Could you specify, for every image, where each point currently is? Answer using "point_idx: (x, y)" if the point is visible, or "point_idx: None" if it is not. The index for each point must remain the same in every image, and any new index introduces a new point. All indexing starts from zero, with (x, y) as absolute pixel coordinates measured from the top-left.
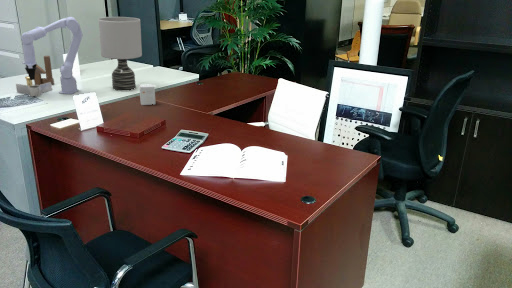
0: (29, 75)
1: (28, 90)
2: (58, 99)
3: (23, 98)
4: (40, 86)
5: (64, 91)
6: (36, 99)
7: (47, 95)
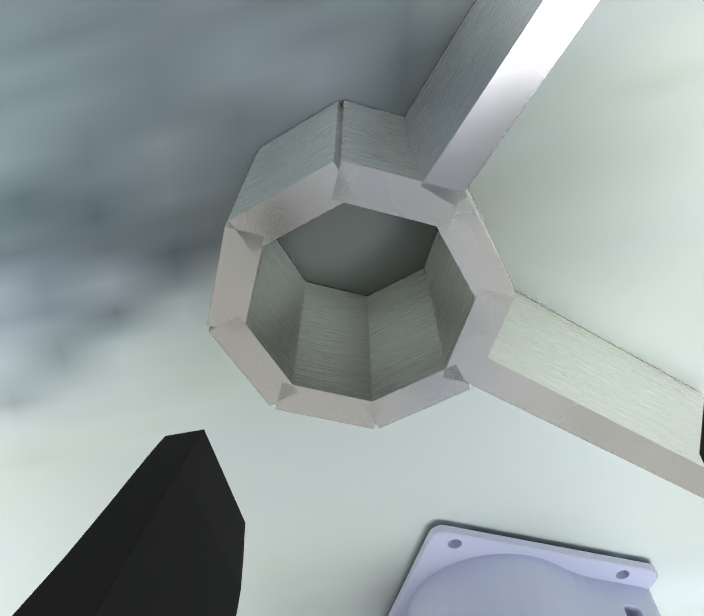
0: (63, 601)
1: (324, 139)
2: None
3: (79, 44)
4: (380, 426)
5: (420, 605)
6: (58, 302)
7: None
